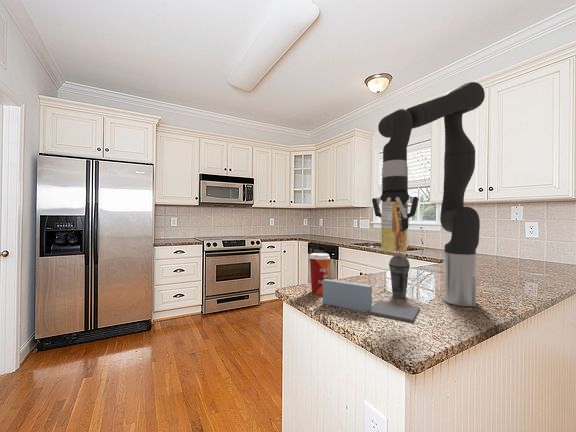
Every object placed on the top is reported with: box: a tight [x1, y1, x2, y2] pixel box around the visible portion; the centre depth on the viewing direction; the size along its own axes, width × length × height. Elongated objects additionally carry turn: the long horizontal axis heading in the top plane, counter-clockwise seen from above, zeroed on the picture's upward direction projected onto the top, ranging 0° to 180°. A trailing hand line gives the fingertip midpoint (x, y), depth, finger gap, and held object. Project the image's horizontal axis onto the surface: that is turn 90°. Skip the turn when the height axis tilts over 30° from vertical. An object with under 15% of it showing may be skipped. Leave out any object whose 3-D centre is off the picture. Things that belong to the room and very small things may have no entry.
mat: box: [366, 299, 421, 323], centre depth 85 cm, size 13×13×1 cm
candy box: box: [380, 201, 409, 253], centre depth 85 cm, size 9×4×15 cm, turn 129°
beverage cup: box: [388, 251, 411, 299], centre depth 102 cm, size 7×7×20 cm
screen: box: [322, 278, 373, 313], centre depth 89 cm, size 16×2×8 cm, turn 57°
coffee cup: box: [309, 252, 331, 296], centre depth 106 cm, size 8×8×15 cm
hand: (394, 230), depth 86 cm, fingers closed on candy box, 5 cm apart
